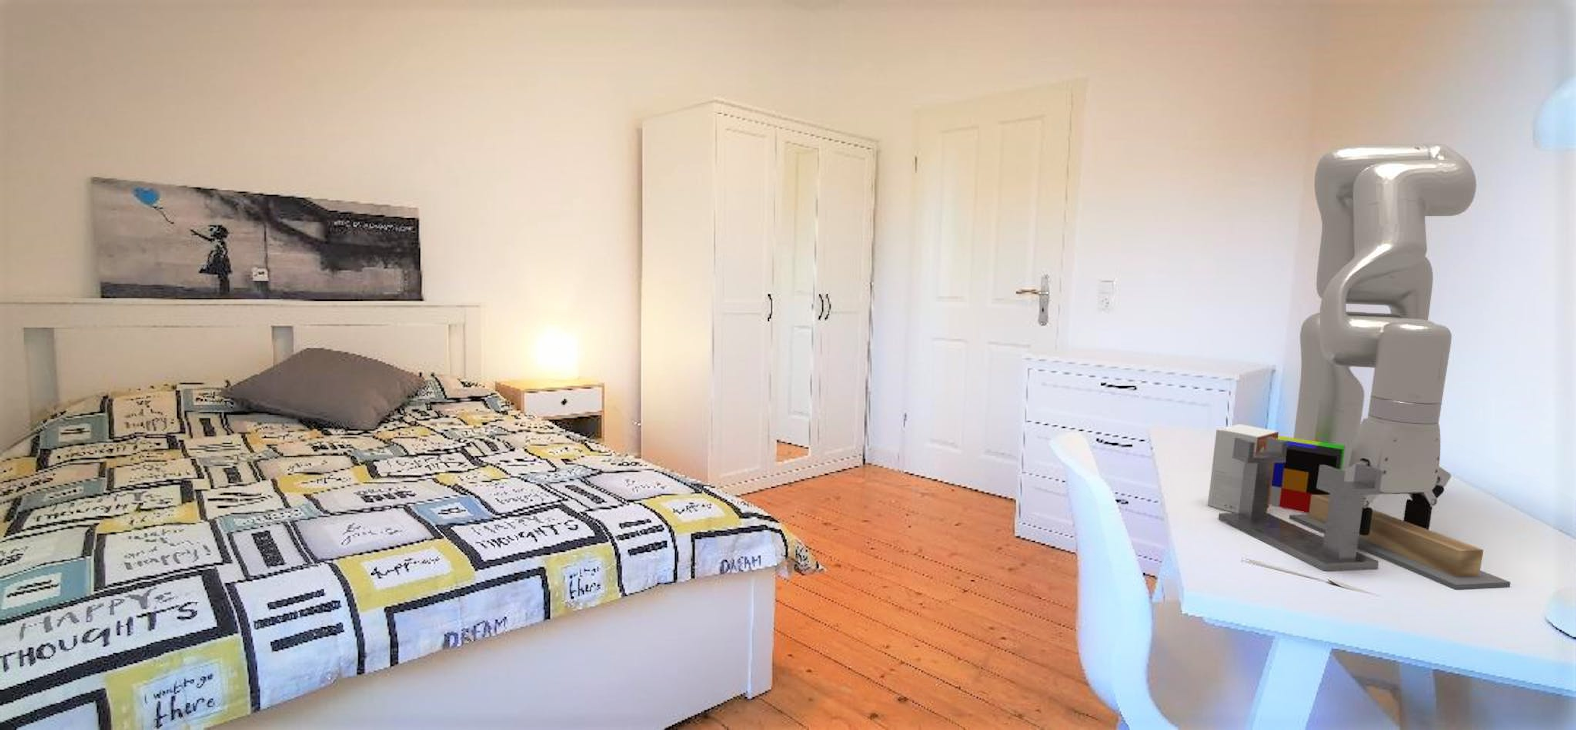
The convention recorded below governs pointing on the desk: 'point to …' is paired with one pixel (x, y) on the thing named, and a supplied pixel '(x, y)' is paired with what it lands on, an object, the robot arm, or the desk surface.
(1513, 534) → the desk surface
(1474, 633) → the desk surface
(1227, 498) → the small box
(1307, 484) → the puzzle toy
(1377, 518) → the rail
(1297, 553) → the rack
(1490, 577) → the mat
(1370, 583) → the desk surface
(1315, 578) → the silver long thin piece
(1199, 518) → the desk surface
